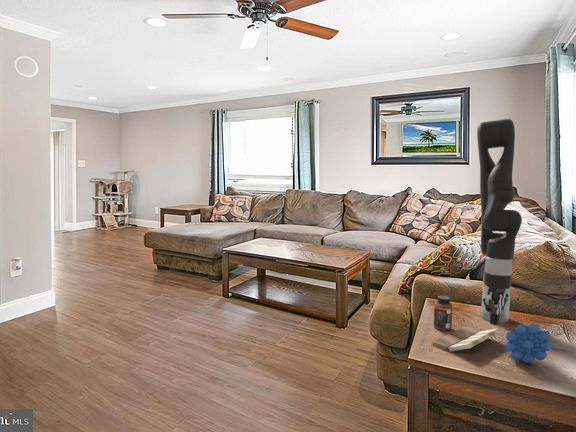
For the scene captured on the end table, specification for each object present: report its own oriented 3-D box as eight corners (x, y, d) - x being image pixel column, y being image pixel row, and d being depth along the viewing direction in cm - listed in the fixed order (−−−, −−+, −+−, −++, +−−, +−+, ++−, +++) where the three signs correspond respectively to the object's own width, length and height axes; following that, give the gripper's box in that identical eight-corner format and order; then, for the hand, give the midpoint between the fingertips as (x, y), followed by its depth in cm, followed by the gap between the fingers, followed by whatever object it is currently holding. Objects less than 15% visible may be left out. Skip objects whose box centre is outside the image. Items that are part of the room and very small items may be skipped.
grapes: (549, 362, 106) (552, 322, 104) (552, 372, 100) (555, 330, 99) (503, 352, 112) (505, 314, 110) (503, 361, 106) (506, 322, 105)
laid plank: (464, 329, 128) (464, 326, 128) (479, 334, 124) (480, 331, 124) (432, 344, 116) (432, 341, 116) (448, 351, 112) (448, 347, 112)
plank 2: (481, 335, 124) (479, 331, 124) (501, 331, 119) (499, 327, 119) (466, 342, 118) (465, 339, 118) (486, 339, 113) (484, 335, 113)
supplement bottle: (453, 331, 126) (454, 300, 125) (435, 330, 128) (436, 299, 127) (449, 325, 132) (450, 295, 131) (431, 323, 133) (433, 294, 132)
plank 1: (465, 343, 118) (464, 339, 118) (485, 339, 112) (484, 335, 113) (449, 351, 112) (447, 347, 112) (469, 348, 106) (468, 344, 107)
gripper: (495, 267, 122) (491, 316, 124) (475, 271, 115) (472, 324, 116) (519, 271, 116) (515, 323, 118) (500, 276, 109) (496, 332, 110)
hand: (494, 324), depth 117 cm, fingers closed
